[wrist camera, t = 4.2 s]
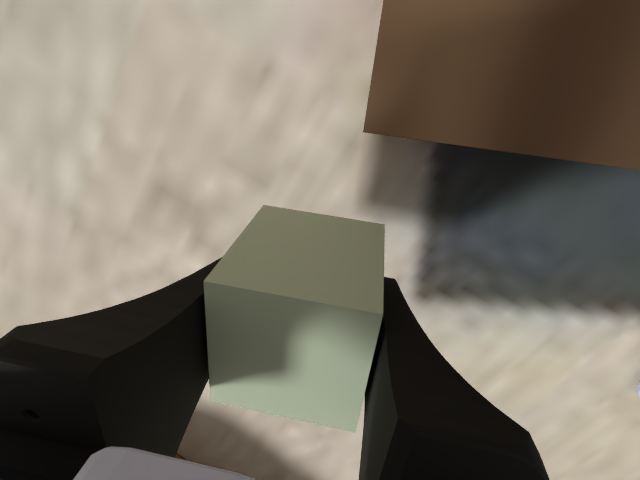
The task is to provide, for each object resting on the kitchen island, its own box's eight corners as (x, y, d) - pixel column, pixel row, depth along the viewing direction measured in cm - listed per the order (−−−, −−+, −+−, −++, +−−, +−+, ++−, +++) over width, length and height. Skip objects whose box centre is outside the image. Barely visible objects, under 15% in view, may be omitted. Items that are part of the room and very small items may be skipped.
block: (384, 224, 13) (383, 314, 9) (364, 321, 15) (355, 432, 11) (263, 205, 13) (203, 280, 9) (260, 301, 15) (210, 401, 11)
